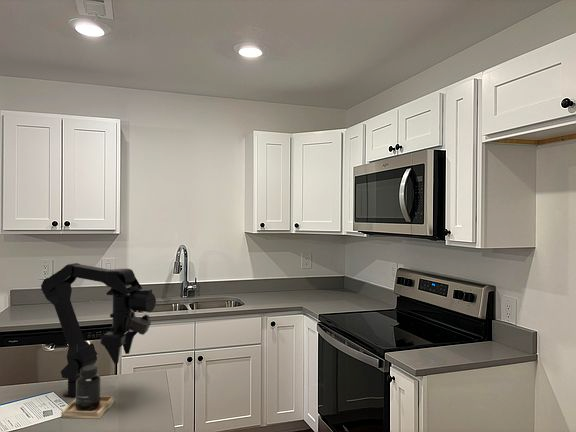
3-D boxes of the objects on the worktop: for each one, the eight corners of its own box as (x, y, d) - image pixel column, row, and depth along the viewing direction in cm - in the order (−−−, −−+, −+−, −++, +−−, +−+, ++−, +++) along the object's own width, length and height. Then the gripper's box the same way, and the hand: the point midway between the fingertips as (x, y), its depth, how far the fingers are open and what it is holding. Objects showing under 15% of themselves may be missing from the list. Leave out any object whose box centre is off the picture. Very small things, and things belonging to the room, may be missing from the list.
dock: (79, 401, 142) (79, 395, 142) (114, 401, 141) (114, 396, 141) (61, 417, 131) (61, 411, 131) (99, 418, 130) (99, 412, 130)
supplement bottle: (77, 414, 131) (77, 373, 131) (73, 405, 137) (74, 366, 137) (102, 408, 135) (102, 369, 135) (98, 400, 141) (98, 362, 140)
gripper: (137, 317, 133) (137, 370, 134) (156, 303, 152) (156, 349, 152) (99, 316, 133) (99, 369, 134) (123, 302, 152) (123, 348, 152)
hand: (121, 358), depth 143 cm, fingers open, 9 cm apart
